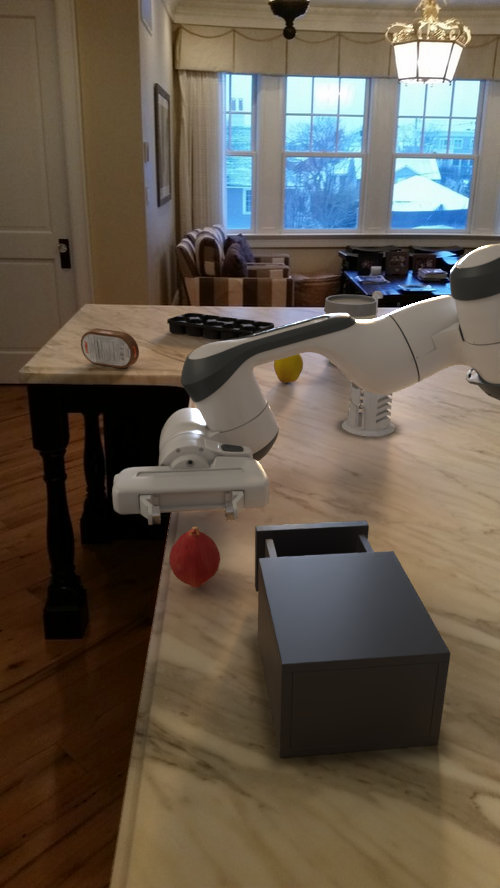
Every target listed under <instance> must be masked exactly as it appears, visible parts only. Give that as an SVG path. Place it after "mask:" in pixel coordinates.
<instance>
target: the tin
mask: <svg viewBox="0 0 500 888" xmlns="http://www.w3.org/2000/svg"><path fill="white" fill-rule="evenodd" d="M80 348H81V353H82V355H83V356H84V358H85V360H87V361H89V362H90V363H91V364H93V365H97V366H104V367H111V368H117V369H126V368H128V367H130V366H133V365H135V364H136V363H137V361H138V360H139V356H140V349H139V345H138V343H137V340H135V338H134V337H133V336H132V335H130V334H129V333H128V332H125V331H119V330H113V329H106V328H98V327H95V328H92V329H90V330H88V331H86V332H85V333H84V334H83V335H82V336H81V338H80Z"/></svg>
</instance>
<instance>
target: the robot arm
mask: <svg viewBox="0 0 500 888" xmlns="http://www.w3.org/2000/svg"><path fill="white" fill-rule="evenodd" d="M449 272H450V273H449V287H450V289H449V290H450V295H448V294H447V295H446V294H445V295H439V296H436V297H431V298H428V299H424V300H421V301H418V302H415V303H411V304H409V305H408V304H407V305H406V306H403V307H401V308H399V309H396V310H394V311H391V312H390V313H387V314H385V315H382V316H380V317H377V318H376V317H375V318H376V319H371V320H355V319H354V318H352V317H351V316H350V315H349V314H346V313H334V314H327V315H326V314H323V315H318V316H314V317H310V318H305V319H302V320H298V321H295V322H291V323H287V324H283V325H280V326H276V327H274V328H272V329H269V330H265V331H261V332H258V333H254V334H251V335H247V336H243V337H238V338H233V339H228V340H219V341H214V342H208V343H205V344H203V345H201V346H199V347H197V348H195V349H194V350H192V351H191V352H190V353H188V354H187V356H186V358H185V360H184V362H183V366H182V370H181V374H180V383H181V385H182V387H183V388H184V390H185V392H186V393H187V395H188V396H189V398H190V400H191V401H192V402H193V403H194V404H195V406H196V408H194V407H184V408H181V409H178V410H176V411H175V412H173V413H172V414H171V415H170V416H169V417H168V418H167V420H166V422H165V423H164V425H163V426H162V428H161V432H160V436H159V447H158V449H159V450H158V452H159V456H158V465H154V466H132V467H127V468H124V469H122V470H121V471H120V472H119V473H117V474H115V475H114V476H113V479H112V480H113V482H112V484H113V485H112V492H111V497H112V506H113V507H112V508H113V511H114V512H116V513H117V514H118V515H141V516H142V517H144V519H145V518H146V520H147V523H148V526H154V525H155V526H156V525H161V520H162V519H161V514H162V513H182V512H183V513H184V512H186V513H187V512H204V511H205V512H206V511H224V518H225V522H238V521H239V520H238V519H239V516H238V515H239V514H240V513H242V511H244V510H246V509H247V510H249V509H250V510H251V509H264V508H265V507H266V506H268V505H269V503H270V481H269V477H268V475H267V473H266V471H265V469H264V467H263V465H262V464H261V462H259V461H261V460H262V459H263V458H264V457H266V456H267V455H268V453H269V452H270V450H271V449H272V448H273V446H274V444H275V442H276V440H277V438H278V435H279V432H280V425H279V424H278V422H277V420H276V417H275V415H274V413H273V411H272V408H271V406H270V405H269V402H268V401H267V399H266V397H265V395H264V393H263V391H262V388H261V386H260V384H259V382H258V379H257V378H256V376H255V373H254V368H256V367H258V366H260V365H265V364H268V363H271V362H272V363H273V362H274V361H275V360H279V359H283V358H286V357H290V356H293V355H297V354H300V355H301V354H305V353H313V354H318V355H320V356H322V357H324V358H326V359H328V361H329V360H330V361H331V362H332V363H333V364H332V363H331V364H332V365H334V366H335V367H336V368H337V369H338V370H339V371H340V372H341V373H342V374H343V375H344V376H345V377H346V378H347V379H348V380H349V381H350V382H351V381H352V382H353V383H354V384H355V385H357V386H358V387H360V388H361V389H363V390H362V391H367V392H370V393H374V394H381V395H385V394H390V393H392V394H394V393H397V392H399V391H402V390H405V389H407V388H409V387H411V386H414V385H416V384H418V383H420V382H422V381H424V380H426V379H428V378H430V377H432V376H434V375H436V374H438V373H439V372H441V371H443V370H445V369H447V368H450V367H453V366H466V367H468V368H469V367H470V369H469V370H468V372H467V373H466V376H465V380H466V381H467V383H469V384H471V385H474V386H478V387H479V388H480V389H481V390H482V392H484V393H485V394H486V395H487V396H489V397H491V398H493V399H495V400H498V401H500V243H492V244H486V245H483V246H481V247H478V248H476V249H474V250H472V251H470V252H469V253H467V254H465V255H464V256H462V257H461V258H459V259H458V260H457V261H456V262H455V264H454V265H453V266H452V268H451V269H450V271H449ZM330 361H329V362H330Z"/></svg>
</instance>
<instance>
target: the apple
mask: <svg viewBox="0 0 500 888" xmlns="http://www.w3.org/2000/svg"><path fill="white" fill-rule="evenodd" d="M303 368H304V359H303V357H302V355H301V354H297V355H293V356H290V357H286V358H283V359H279V360H275V361H273V370H274V372H275V375H276V377H277V379H278V380H279V382H282V383H285V384H288V383H293V382H296V381H297V380H298V379H299V377H300V375H301V373H302V372H303Z"/></svg>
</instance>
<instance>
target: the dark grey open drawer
mask: <svg viewBox="0 0 500 888" xmlns="http://www.w3.org/2000/svg"><path fill="white" fill-rule="evenodd" d="M369 529H370V525H369V524H368V521H367V520H349V521H346V520H345V521H328V522H309V523H294V524H293V523H290V524H289V523H287V524H270V525H269V524H268V525H255V527H254V588H255V592H256V593H258V567H259V566H258V563H259V558H276V557H294V556H312V555H330V554H348V553H367V552H375V551H374V549H373V547H372V546H371V544H370V541H369Z"/></svg>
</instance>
